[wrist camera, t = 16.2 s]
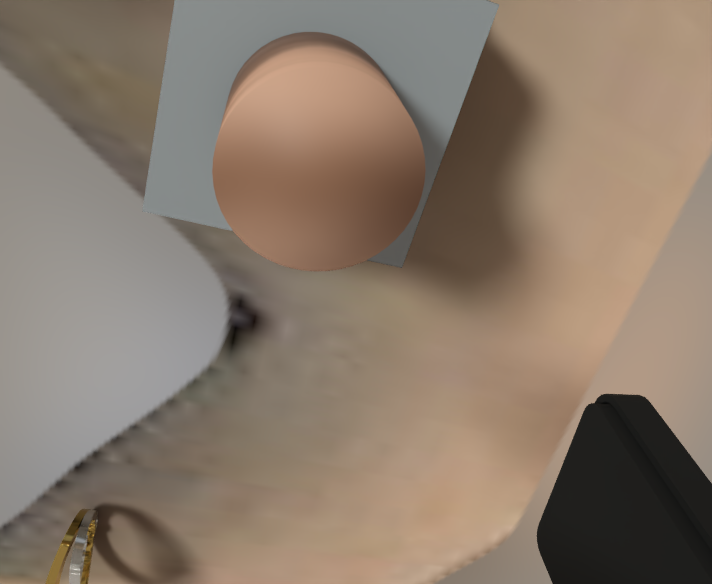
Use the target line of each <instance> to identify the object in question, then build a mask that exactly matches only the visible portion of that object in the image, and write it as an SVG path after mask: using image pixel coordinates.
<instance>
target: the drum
mask: <svg viewBox="0 0 712 584" xmlns="http://www.w3.org/2000/svg"><path fill="white" fill-rule="evenodd" d="M425 171H426V170H425V155H424V150H423V145H422V142H421V139H420V136H419V133H418V130H417V128H416V126H415V124H414V122H413V120H412V119H411V117H410V115H409V114H408V112H407V110H406V109H405V107H404V106H403V104H402V102H401V101H400V99H399V97H398V96H397V94H396V93H395V91H394V89H393V88H392V86H391V84H390V83H389V81H388V80H387V78H386V76H385V75H384V73H383V72H382V70H381V69H380V67H379V66H378V64H377V63H376V62H375V61H374V60H373V59H372V58H371V57H370V56H369V55H368V54H367V53H366V52H365V51H364V50H362V49H361V48H360V47H358V46H357V45H355V44H353V43H352V42H350V41H348V40H346V39H343V38H341V37H338V36H335V35H332V34H327V33H321V32H300V33H293V34H289V35H286V36H282V37H280V38H278V39H275V40H273V41H271V42H269V43H268V44H266V45H264V46H263V47H261V48H260V49H259V50H257V51H256V52H255V53H254V54H253V55H252V56H251V57H250V58H249V59H248V60H247V61H246V62H245V63H244V65H243V66H242V68H241V69H240V70H239V72H238V74H237V76H236V78H235V80H234V82H233V84H232V87H231V90H230V93H229V96H228V100H227V104H226V108H225V111H224V115H223V119H222V123H221V127H220V131H219V134H218V138H217V142H216V146H215V151H214V156H213V168H212V175H213V186H214V190H215V195H216V199H217V202H218V204H219V207H220V210H221V212H222V214H223V216H224V217H225V219H226V221H227V223H228V224H229V226H230V227H231V228H232V230H233V231H234V232H235V234H236V235H237V236H238V237H239V238H240V239H241V240H242V241H243V242H244V243H245V244H246V245H247V246H249V247H250V248H251V249H252V250H254V251H255V252H256V253H258V254H260V255H261V256H263V257H264V258H266V259H268V260H271V261H273V262H275V263H277V264H280V265H283V266H286V267H289V268H294V269H299V270H306V271H330V270H337V269H342V268H346V267H350V266H353V265H356V264H358V263H361V262H364V261H366V260H368V259H369V258H371V257H373V256H375V255H377V254H378V253H380V252H381V251H382V250H384V249H385V248H387V247H388V246H389V245H390V244H391V243H392V242H393V241H395V240H396V239H397V237H398V236H399V235H400V234H401V233H402V232H403V231H404V229H405V228H406V227H407V225H408V224H409V222H410V221H411V219H412V217H413V215H414V213H415V212H416V210H417V207H418V205H419V202H420V199H421V196H422V192H423V188H424V183H425Z"/></svg>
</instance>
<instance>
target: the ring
mask: <svg viewBox="0 0 712 584" xmlns="http://www.w3.org/2000/svg"><path fill="white" fill-rule="evenodd" d="M97 524H98V519H97V511H96V510H91V509H82V510H80V511H79V513H78V514H77V515H76V517H75V519H74V520H73V522H72V524H71V525H70V527H69V529H68V531H67V533H66V535H65V537H64V539H63V541H62V543H61V545H60V547H59V549H58V552H57V554H56V556H55V559H54V561H53V564H52V566H51V569H50V572H49V575H48V578H47V581H46V584H59V582H60V577H61V573H62V570H63V567H64V564H65V561H66V558H67V556H68V553H69V551H70V549H71V546H72V544H73V542H74V540H75V538H76V541H75V545H74V549H73V553H72V558H71V564H70V574H69V584H88V581H89V573H90V566H91V559H92V552H93V545H94V538H95V532H96V528H97ZM76 536H77V537H76Z"/></svg>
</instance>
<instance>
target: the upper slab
mask: <svg viewBox="0 0 712 584" xmlns="http://www.w3.org/2000/svg"><path fill="white" fill-rule="evenodd" d="M498 7H499V5H498V4H496V3H493V2H491V1H489V0H175V2H174V8H173V15H172V21H171V28H170V34H169V41H168V48H167V54H166V61H165V67H164V74H163V80H162V87H161V93H160V100H159V106H158V113H157V119H156V126H155V132H154V139H153V145H152V152H151V158H150V165H149V171H148V178H147V184H146V191H145V197H144V204H143V211H144V212H148V213H153V214H157V215H162V216H167V217H171V218H176V219H180V220H185V221H189V222H194V223H199V224H203V225H208V226H212V227H217V228H222V229H226V230H231V231H233V230H232V228H231V227H230V226H229V224H228V223H227V221H226V219H225V217H224V216H223V214H222V212H221V210H220V207H219V204H218V202H217V199H216V195H215V190H214V186H213V175H212V168H213V156H214V151H215V146H216V142H217V138H218V134H219V131H220V127H221V123H222V119H223V115H224V111H225V108H226V104H227V100H228V96H229V93H230V90H231V87H232V84H233V82H234V80H235V78H236V76H237V74H238V72H239V70H240V69H241V68H242V66H243V65H244V63H245V62H246V61H247V60H248V59H249V58H250V57H251V56H252V55H253V54H254V53H255V52H256V51H257V50H259V49H260V48H261V47H263V46H264V45H266V44H268V43H269V42H271V41H273V40H275V39H278V38H280V37H282V36H286V35H289V34H293V33H300V32H321V33H327V34H332V35H335V36H338V37H341V38H343V39H346V40H348V41H350V42H352V43H353V44H355V45H357V46H358V47H360V48H361V49H362V50H364V51H365V52H366V53H367V54H368V55H369V56H370V57H371V58H372V59H373V60H374V61H375V62H376V63H377V64H378V66H379V67H380V69H381V70H382V72H383V73H384V75H385V76H386V78H387V80H388V81H389V83H390V84H391V86H392V88H393V89H394V91H395V93H396V94H397V96H398V97H399V99H400V101H401V102H402V104H403V106H404V107H405V109H406V110H407V112H408V114H409V115H410V117H411V119H412V120H413V122H414V124H415V126H416V128H417V130H418V133H419V136H420V139H421V142H422V145H423V150H424V155H425V170H426V171H425V183H424V188H423V192H422V196H421V199H420V202H419V205H418V207H417V210H416V212H415V213H414V215H413V217H412V219H411V221H410V222H409V224H408V225H407V227H406V228H405V229H404V231H403V232H402V233H401V234H400V235H399V236H398V237H397V239H396V240H395V241H393V242H392V243H391V244H390V245H389V246H388V247H387V248H385V249H384V250H382V251H381V252H380V253H378V254H377V255H375V256H373V257H371V258H369V259H368V261H373V262H377V263H382V264H386V265H391V266H396V267H400V268H402V266H403V264H404V261H405V258H406V255H407V253H408V250H409V247H410V245H411V242H412V239H413V236H414V234H415V231H416V228H417V226H418V223H419V220H420V218H421V215H422V212H423V209H424V207H425V204H426V201H427V199H428V196H429V193H430V191H431V188H432V185H433V182H434V180H435V177H436V174H437V172H438V169H439V166H440V164H441V161H442V158H443V155H444V153H445V150H446V147H447V145H448V142H449V139H450V136H451V134H452V131H453V128H454V126H455V123H456V120H457V118H458V115H459V112H460V109H461V107H462V104H463V101H464V99H465V96H466V93H467V91H468V88H469V85H470V82H471V80H472V77H473V74H474V72H475V69H476V66H477V63H478V61H479V58H480V55H481V53H482V50H483V47H484V45H485V42H486V39H487V36H488V34H489V31H490V28H491V26H492V23H493V20H494V18H495V15H496V12H497V9H498Z"/></svg>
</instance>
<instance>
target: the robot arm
mask: <svg viewBox="0 0 712 584" xmlns="http://www.w3.org/2000/svg"><path fill="white" fill-rule="evenodd" d="M537 542H538V548H539V551H540V554H541V556H542V559H543V561H544V564H545V566H546V569H547V571H548V573H549V576H550V578H551V581H552V583H553V584H712V483H711V482H710V481H709V480H708V478H707V477H706V476H705V474H704V473H703V472H702V470H701V469H700V468H699V466H698V465H697V464H696V462H695V461H694V460H693V459H692V457H691V456H690V454H689V453H688V452H687V450H686V449H685V448H684V446H683V445H682V444H681V443H680V441H679V440H678V439H677V437H676V436H675V435H674V433H673V432H672V431H671V429H670V428H669V427H668V425H667V424H666V423H665V421H664V420H663V419H662V417H661V416H660V415H659V414H658V412H657V411H656V410H655V408H654V407H653V406H652V405H651V403H650V402H649V401H648V400H647V399H646V398H645V397H643V396H640V395H623V394H603V395H601V396H600V397H598V398H597V400H596V402H595V403H593V404H589V405H588V406H587V407H586V408H585V410H584V412H583V415H582V417H581V420H580V422H579V425H578V427H577V430H576V433H575V435H574V437H573V440H572V443H571V445H570V447H569V450H568V453H567V455H566V457H565V460H564V463H563V465H562V468H561V470H560V473H559V475H558V478H557V480H556V483H555V485H554V488H553V490H552V493H551V495H550V498H549V500H548V503H547V505H546V508H545V510H544V513H543V515H542V518H541V520H540V523H539V526H538V530H537Z"/></svg>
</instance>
